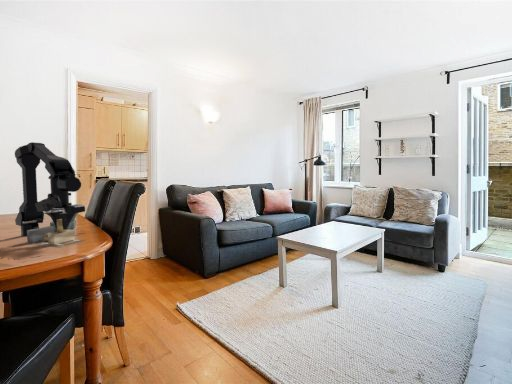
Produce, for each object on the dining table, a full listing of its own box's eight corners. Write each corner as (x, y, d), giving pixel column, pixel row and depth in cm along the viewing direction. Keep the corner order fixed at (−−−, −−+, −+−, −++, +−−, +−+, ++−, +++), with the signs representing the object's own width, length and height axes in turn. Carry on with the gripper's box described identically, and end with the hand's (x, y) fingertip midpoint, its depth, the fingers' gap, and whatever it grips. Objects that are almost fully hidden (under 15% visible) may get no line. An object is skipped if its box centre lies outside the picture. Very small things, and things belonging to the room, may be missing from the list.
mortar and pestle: (50, 239, 123) (49, 212, 122) (50, 235, 131) (49, 209, 130) (80, 236, 130) (79, 210, 129) (79, 232, 138) (78, 208, 137)
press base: (22, 247, 111) (21, 231, 110) (51, 240, 122) (51, 225, 122) (61, 251, 106) (60, 234, 105) (87, 243, 118) (86, 228, 117)
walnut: (41, 241, 114) (40, 233, 113) (49, 239, 117) (48, 231, 117) (47, 242, 113) (47, 233, 113) (56, 240, 116) (55, 232, 116)
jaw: (48, 244, 109) (47, 221, 109) (69, 238, 118) (68, 217, 117) (54, 244, 108) (53, 221, 108) (75, 239, 117) (74, 217, 116)
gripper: (20, 191, 106) (22, 232, 107) (59, 193, 101) (61, 235, 103) (48, 189, 117) (50, 226, 118) (85, 190, 112) (87, 229, 113)
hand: (61, 229), depth 113 cm, fingers closed on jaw, 3 cm apart
